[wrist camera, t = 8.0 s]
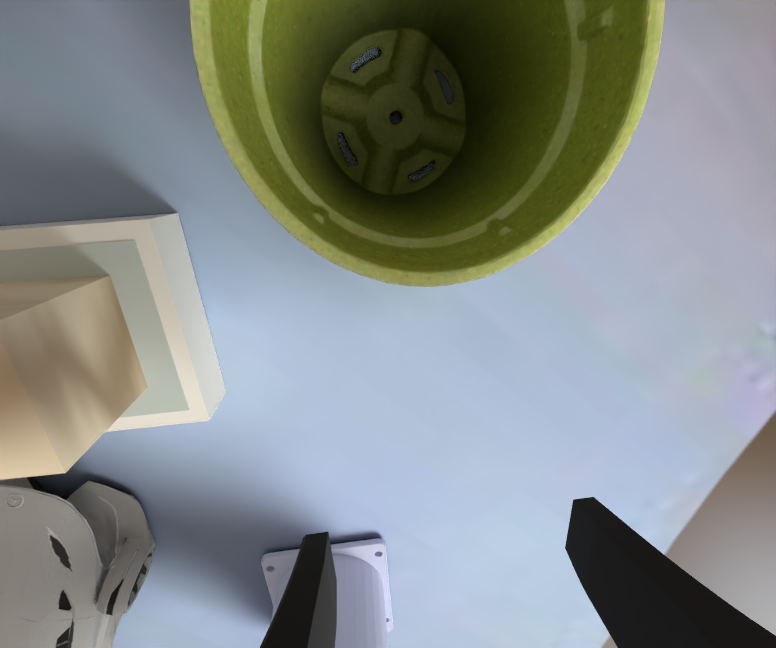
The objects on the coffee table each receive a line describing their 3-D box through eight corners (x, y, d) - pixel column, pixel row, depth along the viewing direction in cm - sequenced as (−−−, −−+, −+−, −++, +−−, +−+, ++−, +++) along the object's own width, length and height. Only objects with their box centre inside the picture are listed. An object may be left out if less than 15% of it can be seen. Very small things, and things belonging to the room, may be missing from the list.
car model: (-47, 687, 26) (-130, 795, 22) (-54, 417, 19) (-186, 497, 14) (121, 698, 29) (78, 798, 24) (175, 464, 21) (127, 545, 17)
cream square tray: (226, 391, 19) (209, 421, 17) (45, 410, 19) (1, 443, 16) (177, 212, 16) (148, 219, 13) (-45, 229, 15) (-117, 239, 13)
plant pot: (361, 273, 18) (370, 354, 10) (226, 74, 14) (64, -58, 6) (535, 160, 16) (711, 146, 8) (433, -86, 13) (567, -504, 5)
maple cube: (147, 387, 16) (65, 473, 11) (25, 397, 16) (-111, 490, 11) (109, 275, 14) (-8, 323, 9) (-31, 284, 14) (-223, 338, 9)
